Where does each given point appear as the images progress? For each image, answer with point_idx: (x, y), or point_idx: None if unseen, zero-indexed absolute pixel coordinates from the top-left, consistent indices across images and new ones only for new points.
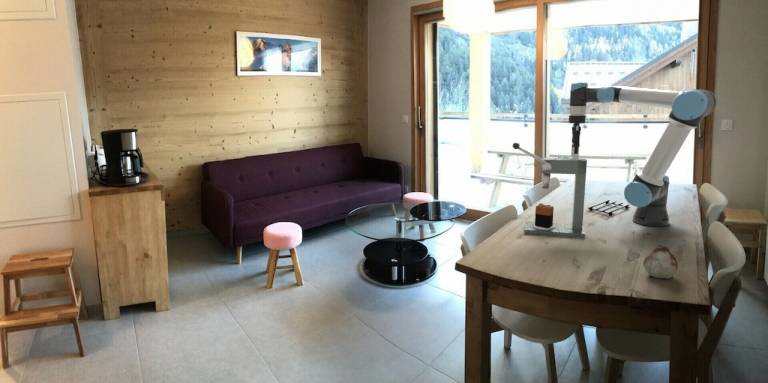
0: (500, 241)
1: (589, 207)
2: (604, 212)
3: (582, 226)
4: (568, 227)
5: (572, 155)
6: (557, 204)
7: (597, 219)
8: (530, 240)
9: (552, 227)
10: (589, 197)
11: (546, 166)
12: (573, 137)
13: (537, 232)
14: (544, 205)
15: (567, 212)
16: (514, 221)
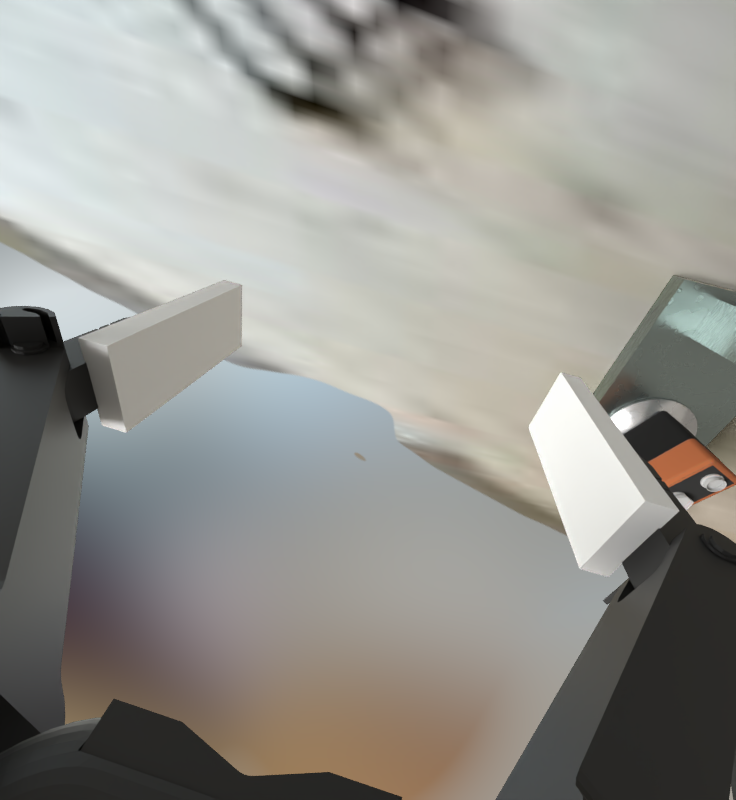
0: None
1: (274, 101)
2: (378, 30)
3: (706, 289)
4: (695, 353)
5: (236, 337)
6: (243, 261)
7: (521, 135)
8: None
9: (682, 414)
10: (39, 20)
11: None
12: (71, 540)
13: None
14: (679, 487)
15: (380, 257)
16: (494, 469)
